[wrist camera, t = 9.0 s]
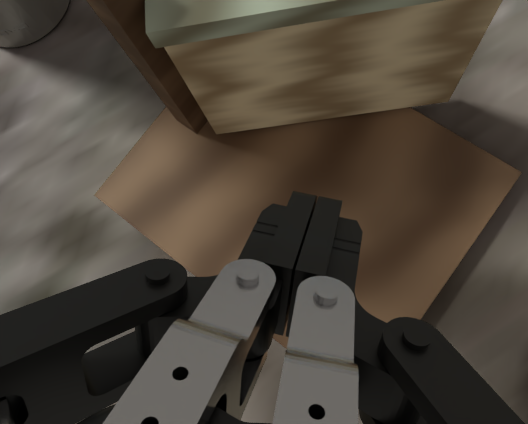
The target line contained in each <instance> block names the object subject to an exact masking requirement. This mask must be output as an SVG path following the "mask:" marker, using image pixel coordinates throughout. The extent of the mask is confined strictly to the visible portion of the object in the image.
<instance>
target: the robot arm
mask: <svg viewBox="0 0 528 424" xmlns="http://www.w3.org/2000/svg"><path fill="white" fill-rule="evenodd" d="M69 1H70V0H0V46H1V47H19V46H24V45H28V44H30V43H32V42H35V41H37V40H39V39H40V38H42V37H43V36H45V35H46V34H48V33H49V32H50V31H51V30H52V29H53V28H54V27H55V26H56V25H57V24H58V23H59V21H60V20H61V19H62V17H63V15H64V13H65V12H66V10H67V8H68V4H69ZM316 201H317V203H316ZM341 207H342V200H337V199H332V198H327V197H322V196H319V197H318V200H317V196H316V195H311V194H306V193H301V192H296V191H293V192H292V195H291V197H290V199H289V202H288V204H287V206H283V205H278V204H271V205H270V206H268V207H267V208H266V209H264V210H263V211H262V212H261V214H260V216H259V218H258V220H257V222H256V224H255V226H254V228H253V230H252V232H251V234H250V236H249V238H248V240H247V242H246V244H245V246H244V248H243V250H242V252H241V254H240V256H239V258H238V260H235V261H233V262H230V263H229V264H227V265H226V266H224V268H223V269H222V270H221V272H220V273H219V275H215V276H209V277H187V272H186V270H185V268H184V267H183V266H182V265H181V264H179V263H178V262H176V261H173V260H169V259H152V260H148V261H145V262H142V263H140V264H137V265H134V266H132V267H129V268H126V269H123V270H121V271H118V272H115V273H113V274H110V275H107V276H105V277H102V278H99V279H96V280H94V281H91V282H88V283H86V284H83V285H80V286H77V287H75V288H72V289H69V290H67V291H64V292H61V293H59V294H56V295H53V296H50V297H48V298H45V299H42V300H40V301H37V302H34V303H32V304H29V305H26V306H23V307H21V308H18V309H15V310H13V311H10V312H7V313H5V314H2V315H0V424H75V423H77V422H78V423H77V424H270V423H247V422H243V421H241V418H242V415H243V412H244V410H245V408H246V405H247V403H248V401H249V398H250V396H251V393H252V391H253V389H254V386H255V384H256V382H257V379H258V377H259V374H260V372H261V370H262V367H263V365H264V363H265V360H266V357H267V352H268V349H269V347H270V345H271V342H272V338H273V335H274V334H278V335H282V336H283V334H284V331H285V327H286V324H287V330H286V337H289V339H288V344H287V350H286V353H285V358H284V363H283V369H282V374H281V380H280V385H279V391H278V397H277V402H276V408H275V413H274V419H273V424H358V409H359V414H360V418H361V420H362V422H363V424H525V423H524V422H523V421H522V420H521V419H520V418H519V417H518V416H517V415H516V414H515V413H514V412H513V410H512V409H511V408H510V407H509V406H508V405H507V404H506V403H505V402H504V401H503V400H502V399H501V398H500V397H499V395H498V394H497V393H496V392H495V391H494V390H493V389H492V388H491V387H490V386H489V385H488V384H487V383H486V381H485V380H484V379H483V378H482V377H481V376H480V375H479V374H478V373H477V372H476V371H475V370H474V369H473V368H472V366H471V365H470V364H469V363H468V362H467V361H466V360H465V359H464V358H463V357H462V356H461V355H460V354H459V353H458V351H457V350H456V349H455V348H454V347H453V346H452V345H451V344H450V343H449V342H448V341H447V340H446V339H445V338H444V336H443V335H442V334H441V333H440V332H439V331H438V330H437V329H436V328H434V327H433V326H431V325H430V324H428V323H426V322H424V321H422V320H419V319H416V318H411V317H399V318H395V319H392V320H390V321H389V322H388V323H386V322H384V321H382V320H380V319H378V318H376V317H374V316H373V315H371V314H370V313H368V312H367V311H366V310H365V309H364V308H363V307H362V306H361V305H360V304H359V302H358V301H357V298H356V296H355V284H356V277H357V270H358V262H359V254H360V248H361V241H362V234H363V231H362V229H361V227H360V225H359V223H358V222H357V220H352V219H347V218H343V217H340V212H341ZM287 321H288V323H287ZM134 327H135V331H134V332H132V333H130V334H127V335H125V336H123V337H121V338H118V339H116V340H114V341H112V342H110V343H107V344H105V345H103V346H101V347H99V348H96V349H94V350H92V351H90V352H87V353H85V352H86V351H87V350H88V349H89V348H91V347H92V346H94V345H96V344H98V343H100V342H102V341H105V340H107V339H109V338H111V337H114V336H116V335H118V334H120V333H123V332H125V331H127V330H129V329H132V328H134ZM84 353H85V354H84ZM117 401H118V402H117ZM115 402H117V404H115V405H112V406H110V405H111V404H113V403H115ZM108 406H109V407H108ZM106 407H107V408H106ZM104 408H105V409H104ZM83 419H84V420H83ZM81 420H82V421H81ZM79 421H80V422H79Z"/></svg>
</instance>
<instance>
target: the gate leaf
mask: <svg viewBox="0 0 528 424" xmlns="http://www.w3.org/2000/svg"><path fill="white" fill-rule="evenodd" d="M501 2H502V0H145V26H146V34H147V36H148V37H149V39H150V41H151V42H152V44H153V45H154V47H155V48H161V47H164V48H165V50H166V51H167V53H168V55H169V56H170V58H171V60H172V61H173V63H174V65H175V66H176V68H177V70H178V71H179V73H180V75H181V76H182V78H183V80H184V81H185V83H186V85H187V86H188V88H189V90H190V91H191V93H192V95H193V96H194V98H195V100H196V101H197V103H198V105H199V106H200V108H201V110H202V111H203V113H204V115H205V116H206V118H207V120H208V121H209V123H210V125H211V126H212V128H213V130H214V131H215V133H216V134H223V133H230V132H237V131H244V130H251V129H258V128H265V127H273V126H280V125H287V124H294V123H301V122H308V121H315V120H322V119H329V118H336V117H343V116H350V115H357V114H364V113H371V112H378V111H386V110H393V109H400V108H407V107H414V106H421V105H428V104H435V103H442V102H448V101H449V99H450V97H451V95H452V94H453V92H454V90H455V88H456V86H457V84H458V82H459V80H460V79H461V77H462V75H463V73H464V71H465V69H466V67H467V66H468V64H469V62H470V60H471V58H472V56H473V54H474V52H475V51H476V49H477V47H478V45H479V43H480V41H481V39H482V38H483V36H484V34H485V32H486V30H487V28H488V26H489V24H490V23H491V21H492V19H493V17H494V15H495V13H496V11H497V10H498V8H499V6H500V4H501Z"/></svg>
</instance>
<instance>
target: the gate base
mask: <svg viewBox="0 0 528 424" xmlns="http://www.w3.org/2000/svg"><path fill="white" fill-rule="evenodd" d="M86 1H87V2H88V3H89V5H90V6H91V7H92V9H93V10H94V11H95V13H96V14H97V15H98V17H99V18H100V19H101V20H102V22H103V23H104V24H105V26H106V27H107V28H108V30H109V31H110V32H111V34H112V35H113V36H114V38H115V39H116V40H117V42H118V43H119V44H120V46H121V47H122V48H123V50H124V51H125V52H126V54H127V55H128V56H129V58H130V59H131V60H132V62H133V63H134V64H135V66H136V67H137V68H138V70H139V71H140V72H141V74H142V75H143V76H144V78H145V79H146V80H147V81H148V83H149V84H150V85H151V87H152V88H153V89H154V91H155V92H156V93H157V95H158V96H159V97H160V99H161V100H162V101H163V103H164V104H165V105H166V107H165V108H164V110H163V111H162V112H161V113H160V115H159V116H158V117H157V118H156V120H155V121H154V122H153V123H152V124H151V126H150V127H149V128H148V129H147V131H146V132H145V133H144V134H143V136H142V137H141V138H140V139H139V140H138V142H137V143H136V144H135V145H134V147H133V148H132V149H131V150H130V151H129V153H128V154H127V155H126V156H125V158H124V159H123V160H122V161H121V163H120V164H119V165H118V166H117V167H116V169H115V170H114V171H113V172H112V174H111V175H110V176H109V177H108V179H107V180H106V181H105V182H104V183H103V185H102V186H101V187H100V188H99V190H98V191H97V192H96V193H95V196H96V197H97V198H98V199H100V200H101V201H102V202H103V203H105V204H106V205H107V206H108V207H110V208H111V209H112V210H113V211H115V212H116V213H117V214H118V215H120V216H121V217H122V218H123V219H125V220H126V221H127V222H128V223H130V224H131V225H132V226H133V227H135V228H136V229H137V230H138V231H140V232H141V233H142V234H143V235H145V236H146V237H147V238H148V239H150V240H151V241H152V242H153V243H155V244H156V245H157V246H158V247H160V248H161V249H162V250H163V251H165V252H166V253H167V254H168V255H170V256H171V257H172V258H173V259H175V260H176V261H177V262H178V263H180V264H181V265H182V266H183V267H185V268H186V269H187V270H188V271H190V272H191V273H192V274H193V275H195V276H196V277H209V276H215V275H219V273H220V272H221V270H222V269H223V268H224V266H226V265H227V264H229V263H230V262H233V261H235V260H238V258H239V256H240V254H241V252H242V250H243V248H244V246H245V244H246V242H247V240H248V238H249V236H250V234H251V232H252V230H253V228H254V226H255V224H256V222H257V220H258V218H259V216H260V214H261V212H262V211H263V210H264V209H266V208H267V207H268V206H270V205H271V204H278V205H283V206H287V204H288V202H289V199H290V197H291V195H292V192H293V191H296V192H301V193H306V194H311V195H316V196H317V200H318V197H319V196H322V197H327V198H332V199H337V200H342V207H341V212H340V217H343V218H347V219H352V220H357V222H358V223H359V225H360V227H361V229H362V231H363V234H362V241H361V248H360V254H359V262H358V270H357V277H356V284H355V296H356V298H357V301H358V302H359V304H360V305H361V306H362V307H363V308H364V309H365V310H366V311H367V312H368V313H370V314H371V315H373V316H374V317H376V318H378V319H380V320H382V321H384V322H386V323H388V322H389V321H390V320H392V319H395V318H399V317H411V318H416V319H419V320H421V318H422V317H423V315H424V314H425V312H426V311H427V309H428V308H429V306H430V305H431V304H432V302H433V301H434V299H435V298H436V296H437V295H438V293H439V292H440V291H441V289H442V288H443V286H444V285H445V283H446V282H447V280H448V279H449V277H450V276H451V275H452V273H453V272H454V270H455V269H456V267H457V266H458V264H459V263H460V262H461V260H462V259H463V257H464V256H465V254H466V253H467V251H468V250H469V248H470V247H471V246H472V244H473V243H474V241H475V240H476V238H477V237H478V235H479V234H480V233H481V231H482V230H483V228H484V227H485V225H486V224H487V222H488V221H489V219H490V218H491V217H492V215H493V214H494V212H495V211H496V209H497V208H498V206H499V205H500V204H501V202H502V201H503V199H504V198H505V196H506V195H507V193H508V192H509V190H510V189H511V188H512V186H513V185H514V183H515V182H516V180H517V179H518V177H519V176H520V175H521V173H522V172H520V171H519V170H517V169H515V168H513V167H512V166H510V165H508V164H507V163H505V162H503V161H501V160H500V159H498V158H496V157H495V156H493V155H491V154H489V153H488V152H486V151H484V150H482V149H481V148H479V147H477V146H476V145H474V144H472V143H470V142H469V141H467V140H465V139H464V138H462V137H460V136H458V135H457V134H455V133H453V132H452V131H450V130H448V129H446V128H445V127H443V126H441V125H440V124H438V123H436V122H434V121H433V120H431V119H429V118H427V117H426V116H424V115H422V114H421V113H419V112H417V111H415V110H414V109H412V108H410V107H407V108H400V109H393V110H386V111H378V112H371V113H364V114H357V115H350V116H343V117H336V118H329V119H322V120H315V121H308V122H301V123H294V124H287V125H280V126H273V127H265V128H258V129H251V130H244V131H237V132H230V133H223V134H216V133H215V131H214V130H213V128H212V126H211V125H210V123H209V121H208V120H207V118H206V116H205V115H204V113H203V111H202V110H201V108H200V106H199V105H198V103H197V101H196V100H195V98H194V96H193V95H192V93H191V91H190V90H189V88H188V86H187V85H186V83H185V81H184V80H183V78H182V76H181V75H180V73H179V71H178V70H177V68H176V66H175V65H174V63H173V61H172V60H171V58H170V56H169V55H168V53H167V51H166V50H165V48H164V47H161V48H155V47H154V45H153V44H152V42H151V41H150V39H149V37H148V36H147V34H146V26H145V0H86ZM316 203H317V201H316ZM287 323H288V321H287ZM286 330H287V324H286V327H285V331H284V334H283V336H282V335H278V334H274V335H273V338H274V339H275V340H276V341H277V342H279V343H280V344H281V345H282V346H284V347H285V348H286V349H287V344H288V339H289V337H286Z"/></svg>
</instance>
